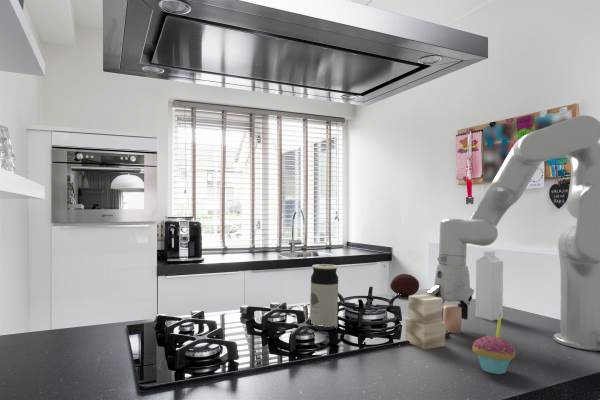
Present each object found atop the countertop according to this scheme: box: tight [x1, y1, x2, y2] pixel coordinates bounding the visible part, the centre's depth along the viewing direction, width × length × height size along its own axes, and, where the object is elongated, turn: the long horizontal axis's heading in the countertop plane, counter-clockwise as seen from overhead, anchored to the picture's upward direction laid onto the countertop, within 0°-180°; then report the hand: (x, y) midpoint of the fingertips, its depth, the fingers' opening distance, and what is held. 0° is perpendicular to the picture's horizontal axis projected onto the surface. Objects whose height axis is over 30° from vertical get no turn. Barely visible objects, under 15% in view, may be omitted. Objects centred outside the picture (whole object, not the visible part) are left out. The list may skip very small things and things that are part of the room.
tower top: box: [407, 294, 443, 324], centre depth 106 cm, size 6×6×6 cm
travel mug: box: [309, 263, 339, 328], centre depth 118 cm, size 8×8×18 cm
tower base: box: [404, 317, 446, 350], centre depth 105 cm, size 7×7×6 cm
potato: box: [390, 273, 420, 297], centre depth 167 cm, size 9×12×9 cm
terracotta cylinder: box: [442, 304, 462, 334], centre depth 118 cm, size 5×5×7 cm
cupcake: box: [471, 314, 516, 375], centre depth 88 cm, size 9×8×12 cm
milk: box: [475, 250, 504, 322], centre depth 135 cm, size 6×6×22 cm
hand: (450, 319), depth 118 cm, fingers open, 9 cm apart
